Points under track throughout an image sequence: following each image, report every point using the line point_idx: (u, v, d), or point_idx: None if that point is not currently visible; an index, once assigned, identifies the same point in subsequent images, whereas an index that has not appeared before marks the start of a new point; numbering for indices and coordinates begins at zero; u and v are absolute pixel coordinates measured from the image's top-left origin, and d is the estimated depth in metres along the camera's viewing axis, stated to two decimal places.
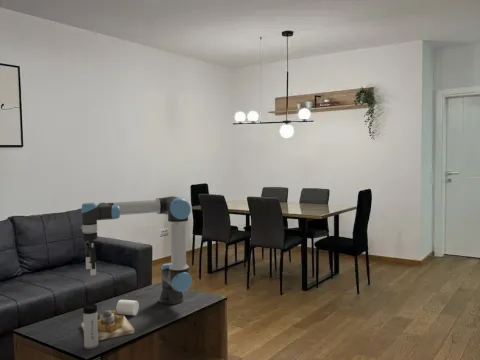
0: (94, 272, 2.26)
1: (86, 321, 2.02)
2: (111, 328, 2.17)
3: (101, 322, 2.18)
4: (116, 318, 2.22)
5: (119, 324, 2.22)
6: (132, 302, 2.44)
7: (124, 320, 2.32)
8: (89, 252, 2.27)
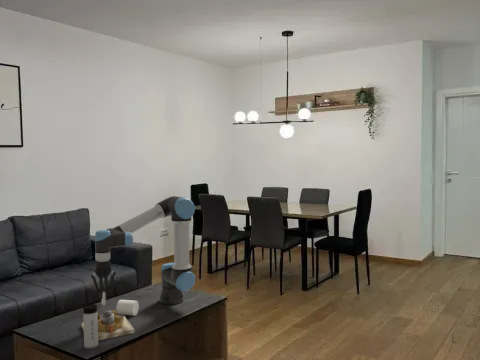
0: (102, 302, 2.29)
1: (85, 321, 2.02)
2: (111, 328, 2.17)
3: (101, 322, 2.18)
4: (116, 318, 2.22)
5: (119, 324, 2.22)
6: (132, 302, 2.44)
7: (124, 320, 2.32)
8: None
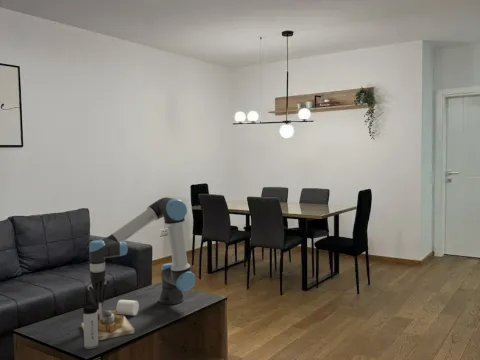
0: (98, 313, 2.28)
1: (85, 321, 2.02)
2: (111, 328, 2.17)
3: (101, 322, 2.18)
4: (116, 318, 2.22)
5: (119, 324, 2.22)
6: (132, 302, 2.44)
7: (124, 320, 2.32)
8: (94, 292, 2.27)
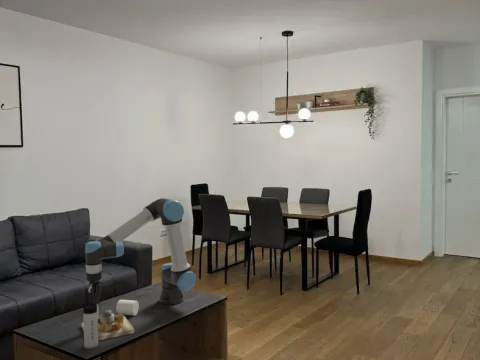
0: None
1: (85, 321, 2.02)
2: (118, 326, 2.19)
3: (106, 322, 2.19)
4: (118, 316, 2.25)
5: (122, 322, 2.25)
6: (132, 302, 2.44)
7: (124, 320, 2.32)
8: None
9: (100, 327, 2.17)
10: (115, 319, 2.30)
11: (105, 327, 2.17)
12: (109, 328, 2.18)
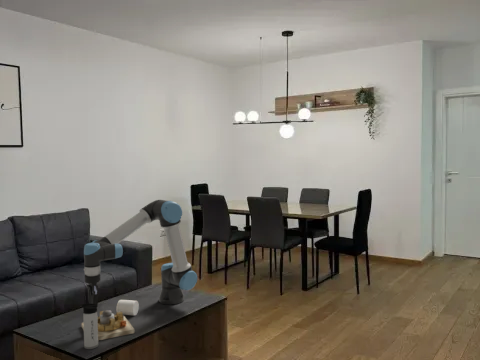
0: None
1: (85, 321, 2.02)
2: (125, 322, 2.24)
3: None
4: (119, 314, 2.28)
5: (122, 319, 2.29)
6: (132, 302, 2.44)
7: None
8: (91, 296, 2.20)
9: (109, 326, 2.18)
10: None
11: (114, 325, 2.19)
12: (117, 326, 2.21)
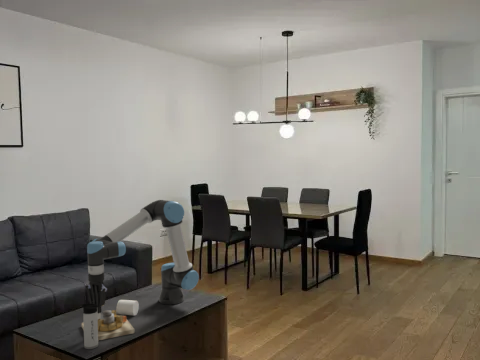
0: (99, 316, 2.20)
1: (85, 321, 2.02)
2: None
3: None
4: (114, 312, 2.31)
5: None
6: (132, 302, 2.44)
7: None
8: (97, 295, 2.17)
9: (119, 323, 2.22)
10: None
11: (122, 321, 2.24)
12: (122, 322, 2.26)
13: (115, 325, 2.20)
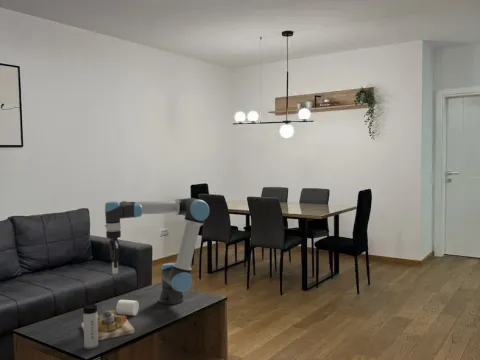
0: (116, 271, 2.38)
1: (85, 321, 2.02)
2: None
3: None
4: (114, 312, 2.31)
5: None
6: (132, 302, 2.44)
7: None
8: (112, 251, 2.36)
9: (119, 323, 2.22)
10: None
11: (122, 321, 2.25)
12: (123, 321, 2.26)
13: (115, 325, 2.20)
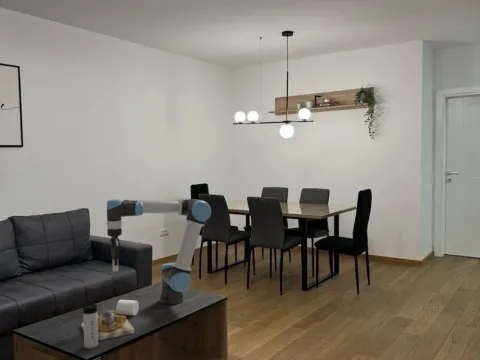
0: (116, 268, 2.39)
1: (85, 321, 2.02)
2: None
3: None
4: (114, 312, 2.31)
5: None
6: (132, 302, 2.44)
7: None
8: (113, 249, 2.37)
9: (119, 323, 2.22)
10: None
11: (122, 321, 2.25)
12: (123, 321, 2.26)
13: (115, 325, 2.20)
